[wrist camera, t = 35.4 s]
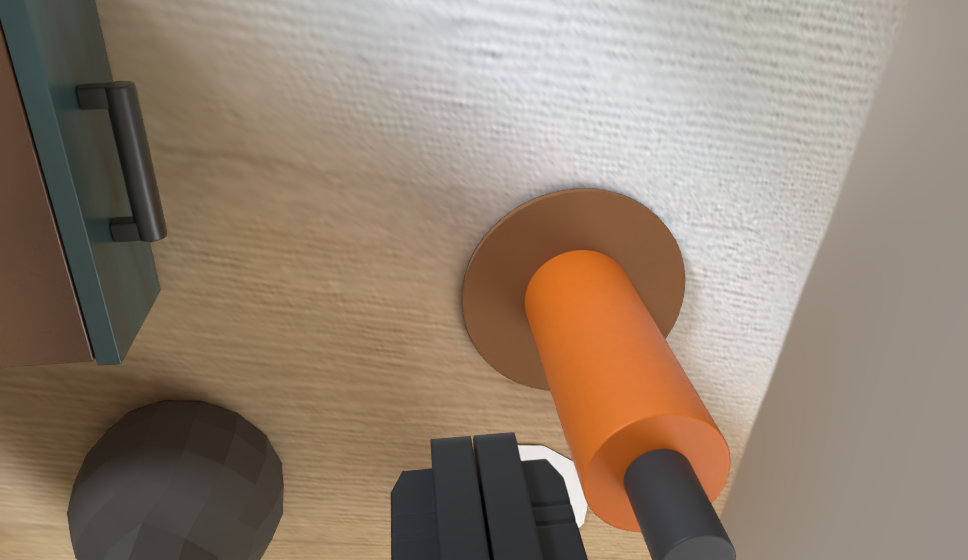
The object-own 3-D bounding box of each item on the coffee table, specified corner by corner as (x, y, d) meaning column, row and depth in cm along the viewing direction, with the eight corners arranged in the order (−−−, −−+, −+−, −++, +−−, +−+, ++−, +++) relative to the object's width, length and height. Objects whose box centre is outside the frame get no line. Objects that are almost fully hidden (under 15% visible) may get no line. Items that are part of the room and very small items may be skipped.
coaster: (457, 195, 36) (458, 198, 36) (693, 181, 37) (696, 184, 37) (464, 395, 41) (465, 399, 41) (672, 378, 42) (674, 382, 42)
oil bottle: (524, 252, 38) (616, 507, 23) (632, 245, 38) (794, 490, 23) (524, 347, 40) (607, 634, 25) (626, 339, 40) (769, 616, 25)
